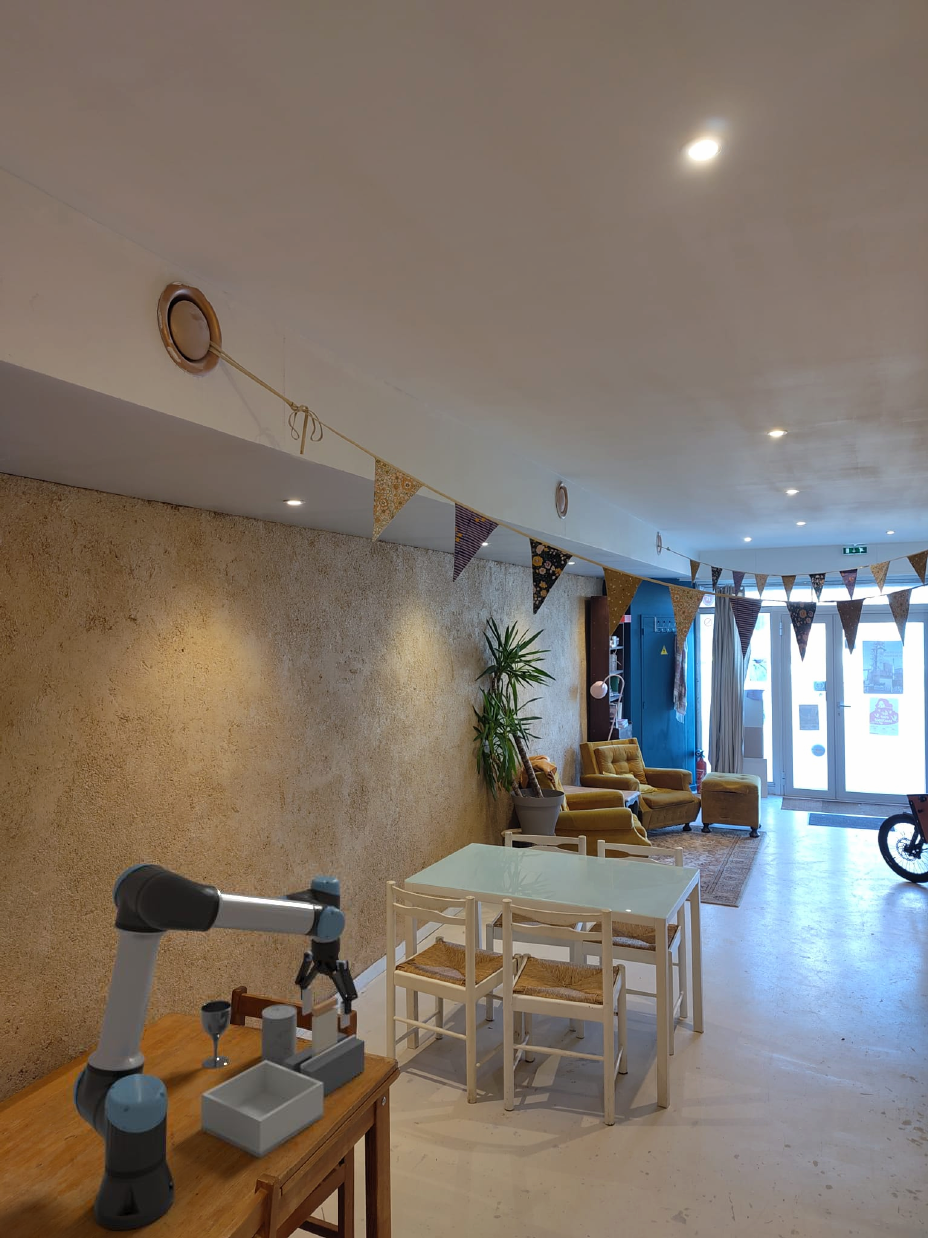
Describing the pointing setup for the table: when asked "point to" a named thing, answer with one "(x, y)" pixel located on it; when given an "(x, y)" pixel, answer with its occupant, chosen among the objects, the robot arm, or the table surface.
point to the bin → (262, 1107)
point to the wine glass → (215, 1028)
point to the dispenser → (331, 1063)
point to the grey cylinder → (279, 1033)
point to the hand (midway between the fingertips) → (325, 1020)
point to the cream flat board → (324, 1026)
